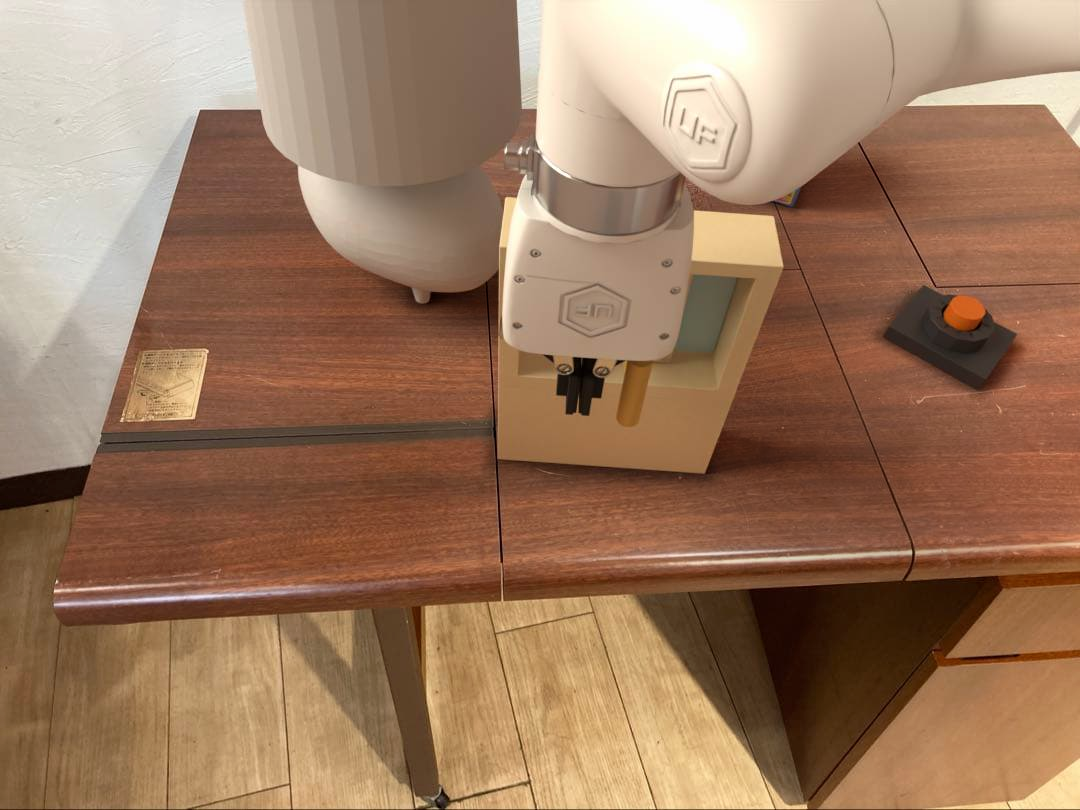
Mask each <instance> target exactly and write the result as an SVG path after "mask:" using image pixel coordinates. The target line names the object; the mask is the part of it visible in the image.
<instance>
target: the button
mask: <svg viewBox="0 0 1080 810" xmlns="http://www.w3.org/2000/svg"><path fill="white" fill-rule="evenodd" d="M985 309H986V308H985V306H984V305H983V304H982V303H981V302H980V301H979V300H978V299H977V298H974V297H971V296H969V295H957V297H955V298H953V299H952V301H951V302H950V304H949V305H948V307H947V308H946V310H945V312H944V314H943V317H944V320H945V321H946V322H947V323H948V324H949V325H950V326H952V327H954V328H956V329H957V330H961V331H967V332H968V331H972V330H974V329H975V328H976V327H977V326H978V324H979V323H980V321H981V320H982V318H983V317H984V315H985Z"/></svg>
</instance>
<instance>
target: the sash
mask: <svg viewBox="0 0 1080 810" xmlns="http://www.w3.org/2000/svg"><path fill="white" fill-rule="evenodd" d="M692 277H693V274H690V275H689V281H688V288H687V294H686V299H685V304H686V300H687V296H688V293H689V289H690V285H691V281H692ZM684 308H685V305H684ZM683 311H684V310H683ZM672 353H673V351H672V352H671V353H670V354H669V355H668V356H666V357H664V358H661V359H656V360H650V361H631V360H626V361H624V380H623V385H622V390H621V395H620V400H619V405H618V410H617V415H616V419H617V421H618V423H619V424H620V425H622V426H624V427H633V426H635V425H637V424H638V422H639V418H640V414H641V410H642V406H643V402H644V398H645V393H646V389H647V385H648V381H649V377H650V373H651V368H652V364H653V361H655V362H668V363H669V362H670V360H671V356H672Z"/></svg>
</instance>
